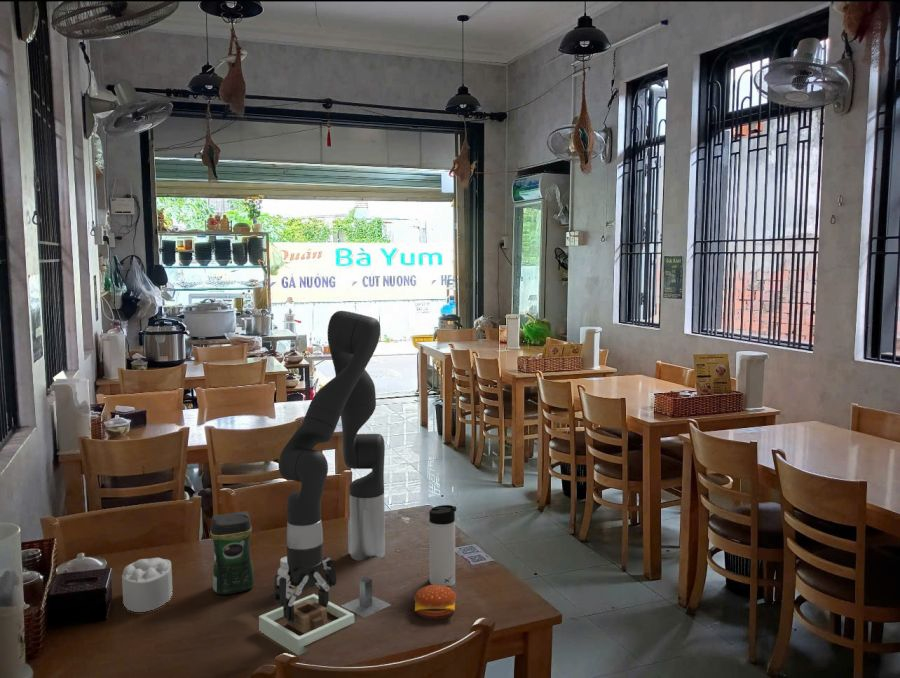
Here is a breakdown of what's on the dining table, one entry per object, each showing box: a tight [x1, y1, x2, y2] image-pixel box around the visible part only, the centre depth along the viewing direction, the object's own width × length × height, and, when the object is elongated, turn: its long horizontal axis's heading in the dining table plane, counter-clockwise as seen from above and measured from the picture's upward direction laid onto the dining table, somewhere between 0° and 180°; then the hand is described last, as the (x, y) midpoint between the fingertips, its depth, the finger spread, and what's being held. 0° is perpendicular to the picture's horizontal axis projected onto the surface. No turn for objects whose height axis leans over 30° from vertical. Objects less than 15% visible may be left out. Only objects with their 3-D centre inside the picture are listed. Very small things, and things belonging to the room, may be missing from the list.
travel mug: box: [428, 504, 457, 588], centre depth 174 cm, size 6×7×20 cm
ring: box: [286, 600, 328, 635], centre depth 153 cm, size 7×6×4 cm
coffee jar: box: [209, 510, 255, 595], centre depth 174 cm, size 10×8×19 cm
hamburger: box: [413, 584, 457, 621], centre depth 160 cm, size 9×10×7 cm
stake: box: [340, 576, 392, 618], centre depth 162 cm, size 8×8×8 cm
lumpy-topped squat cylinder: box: [121, 557, 173, 612], centre depth 168 cm, size 10×13×9 cm
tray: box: [258, 593, 356, 656], centre depth 154 cm, size 14×14×3 cm
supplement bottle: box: [277, 555, 303, 598], centre depth 168 cm, size 5×5×10 cm
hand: (306, 613), depth 154 cm, fingers open, 8 cm apart
